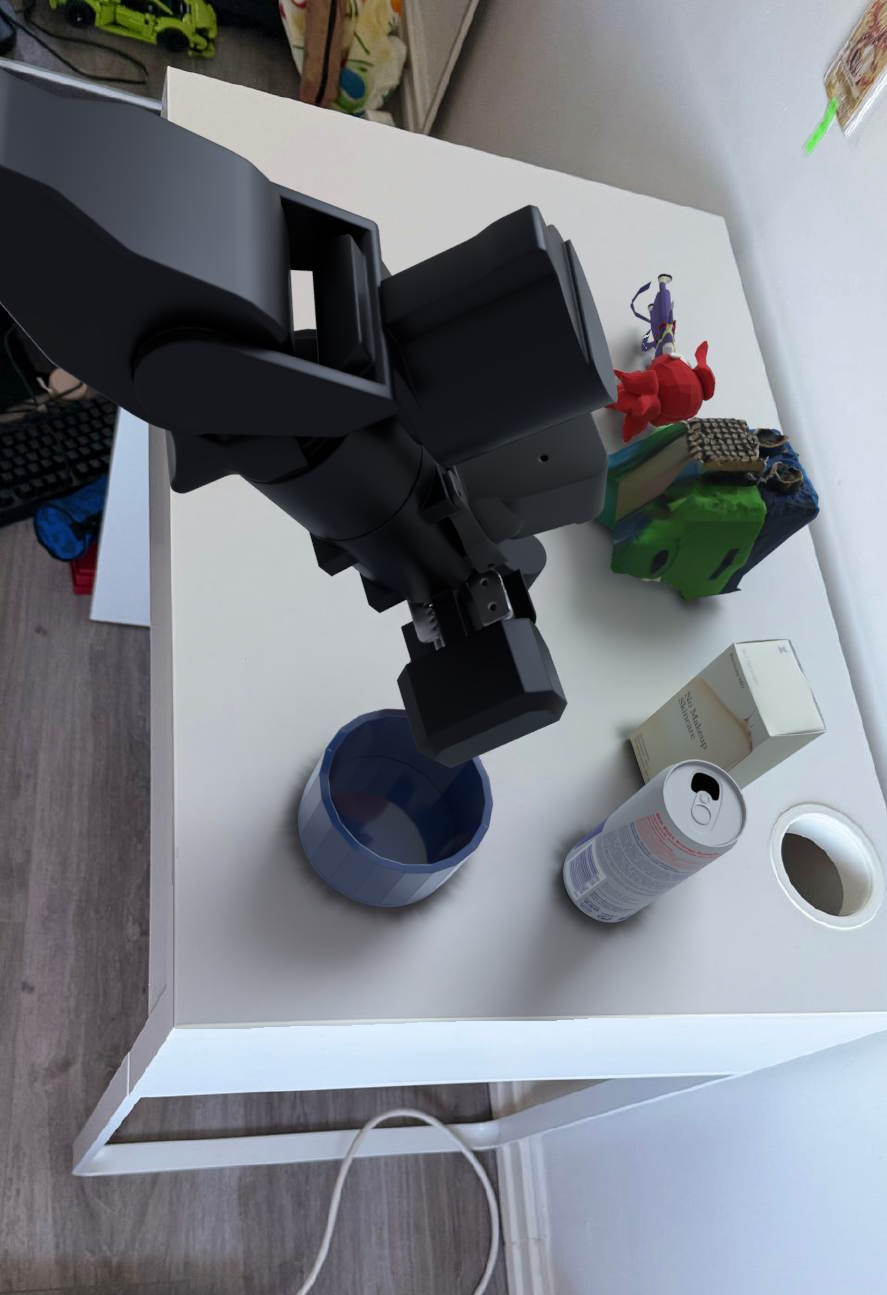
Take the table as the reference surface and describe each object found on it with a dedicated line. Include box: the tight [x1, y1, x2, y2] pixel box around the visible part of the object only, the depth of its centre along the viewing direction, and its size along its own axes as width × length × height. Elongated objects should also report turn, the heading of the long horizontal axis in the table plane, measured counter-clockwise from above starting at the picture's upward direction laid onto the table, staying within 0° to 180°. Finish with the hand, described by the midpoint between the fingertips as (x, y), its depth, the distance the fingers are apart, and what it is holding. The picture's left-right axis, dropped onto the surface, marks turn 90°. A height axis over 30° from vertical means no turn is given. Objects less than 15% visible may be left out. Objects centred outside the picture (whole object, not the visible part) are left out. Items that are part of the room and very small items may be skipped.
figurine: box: [603, 273, 716, 444], centre depth 84 cm, size 6×8×15 cm
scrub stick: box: [408, 535, 548, 663], centre depth 55 cm, size 4×4×12 cm
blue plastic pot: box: [297, 708, 494, 908], centre depth 61 cm, size 10×10×6 cm
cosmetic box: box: [629, 637, 828, 791], centre depth 66 cm, size 6×4×12 cm
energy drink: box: [562, 759, 749, 923], centre depth 61 cm, size 5×5×12 cm
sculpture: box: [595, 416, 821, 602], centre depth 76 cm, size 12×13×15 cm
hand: (503, 615), depth 55 cm, fingers closed on scrub stick, 2 cm apart
